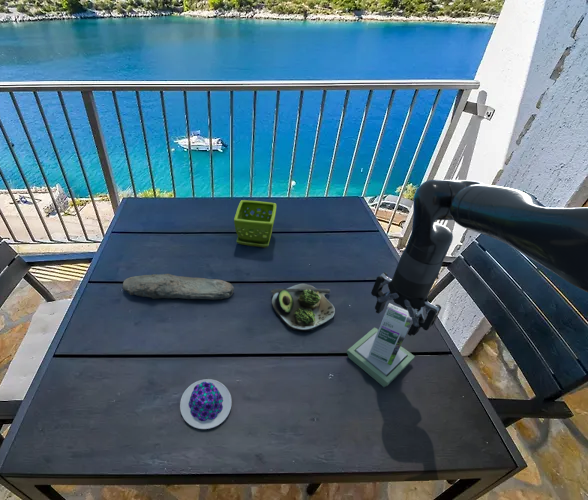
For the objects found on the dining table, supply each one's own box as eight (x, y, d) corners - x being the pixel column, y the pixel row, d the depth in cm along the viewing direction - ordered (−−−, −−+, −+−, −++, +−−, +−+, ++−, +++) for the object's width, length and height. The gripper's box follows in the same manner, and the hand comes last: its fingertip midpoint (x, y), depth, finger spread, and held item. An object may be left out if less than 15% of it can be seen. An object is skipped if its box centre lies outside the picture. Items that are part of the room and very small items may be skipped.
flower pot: (240, 226, 138) (240, 198, 131) (275, 230, 136) (277, 202, 128) (233, 248, 128) (232, 219, 120) (270, 252, 126) (273, 223, 118)
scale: (411, 363, 90) (415, 356, 88) (384, 389, 84) (388, 383, 83) (372, 333, 97) (374, 327, 96) (345, 356, 92) (347, 349, 90)
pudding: (239, 419, 79) (239, 407, 76) (187, 438, 75) (185, 427, 72) (222, 374, 88) (221, 362, 84) (175, 390, 84) (172, 378, 81)
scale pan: (405, 358, 89) (407, 354, 88) (385, 378, 85) (386, 374, 84) (375, 335, 95) (376, 332, 94) (354, 353, 90) (355, 349, 89)
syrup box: (367, 355, 88) (382, 317, 79) (374, 339, 92) (389, 301, 83) (391, 366, 86) (409, 328, 77) (396, 349, 90) (414, 311, 80)
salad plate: (313, 278, 115) (315, 267, 112) (349, 315, 103) (352, 304, 100) (262, 297, 108) (263, 286, 106) (294, 339, 96) (296, 328, 93)
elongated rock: (232, 308, 106) (234, 286, 114) (232, 295, 103) (234, 274, 111) (118, 299, 107) (128, 278, 115) (115, 286, 104) (126, 266, 112)
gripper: (376, 259, 74) (359, 311, 84) (442, 298, 65) (414, 350, 75) (395, 246, 77) (377, 297, 88) (460, 281, 69) (432, 333, 79)
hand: (394, 322), depth 81 cm, fingers open, 8 cm apart
